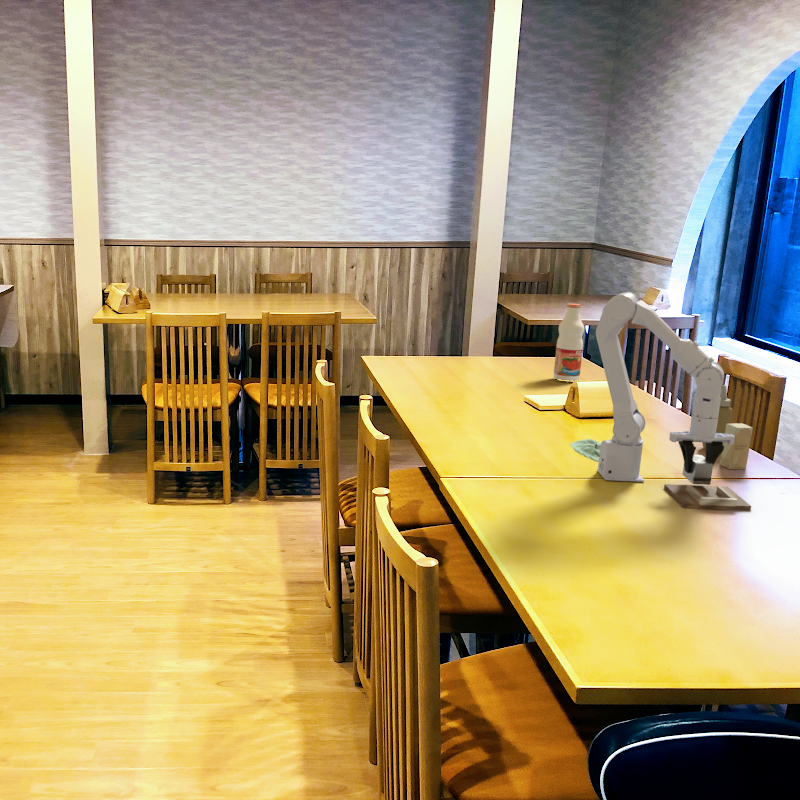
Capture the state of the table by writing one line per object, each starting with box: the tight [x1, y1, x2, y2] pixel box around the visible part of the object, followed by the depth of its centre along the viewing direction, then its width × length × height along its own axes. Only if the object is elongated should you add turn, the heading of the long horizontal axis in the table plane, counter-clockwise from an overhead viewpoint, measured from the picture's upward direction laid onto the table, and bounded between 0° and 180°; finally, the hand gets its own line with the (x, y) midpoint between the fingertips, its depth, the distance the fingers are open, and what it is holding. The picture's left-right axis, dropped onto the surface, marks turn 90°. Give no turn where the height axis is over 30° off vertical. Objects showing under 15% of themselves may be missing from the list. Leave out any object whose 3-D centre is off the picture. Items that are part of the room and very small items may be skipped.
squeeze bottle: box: [701, 384, 734, 451], centre depth 237 cm, size 8×8×18 cm
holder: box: [663, 483, 752, 511], centre depth 198 cm, size 15×14×2 cm
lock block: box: [682, 454, 714, 486], centre depth 204 cm, size 4×7×5 cm, turn 2°
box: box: [719, 422, 754, 470], centre depth 223 cm, size 5×4×11 cm
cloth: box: [569, 438, 602, 463], centre depth 231 cm, size 20×22×2 cm
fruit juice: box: [553, 302, 585, 381], centre depth 318 cm, size 9×9×28 cm
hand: (697, 472), depth 204 cm, fingers closed on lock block, 4 cm apart
